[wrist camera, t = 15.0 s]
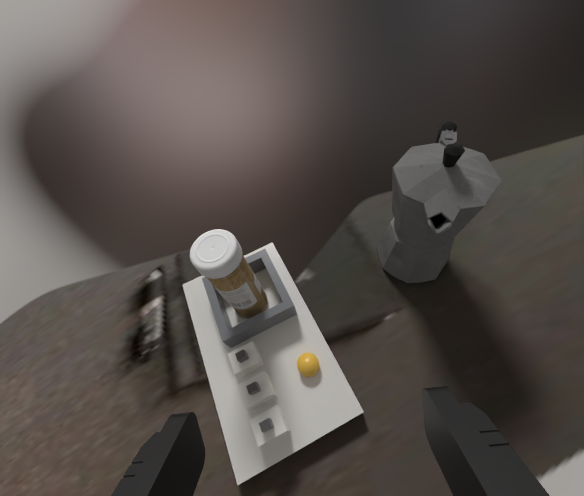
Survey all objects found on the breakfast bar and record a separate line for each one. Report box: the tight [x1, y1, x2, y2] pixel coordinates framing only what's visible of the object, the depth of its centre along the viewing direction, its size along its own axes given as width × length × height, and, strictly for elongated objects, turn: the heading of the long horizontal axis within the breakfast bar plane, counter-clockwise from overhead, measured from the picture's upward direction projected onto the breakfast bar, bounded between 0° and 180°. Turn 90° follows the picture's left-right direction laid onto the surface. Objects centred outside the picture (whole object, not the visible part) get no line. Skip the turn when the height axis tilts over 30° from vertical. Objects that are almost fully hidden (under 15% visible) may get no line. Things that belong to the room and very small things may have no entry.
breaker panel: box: [183, 243, 364, 485], centre depth 34 cm, size 14×24×5 cm, turn 25°
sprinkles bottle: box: [190, 229, 267, 318], centre depth 32 cm, size 5×5×14 cm
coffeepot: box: [377, 121, 502, 283], centre depth 32 cm, size 15×9×18 cm, turn 161°
